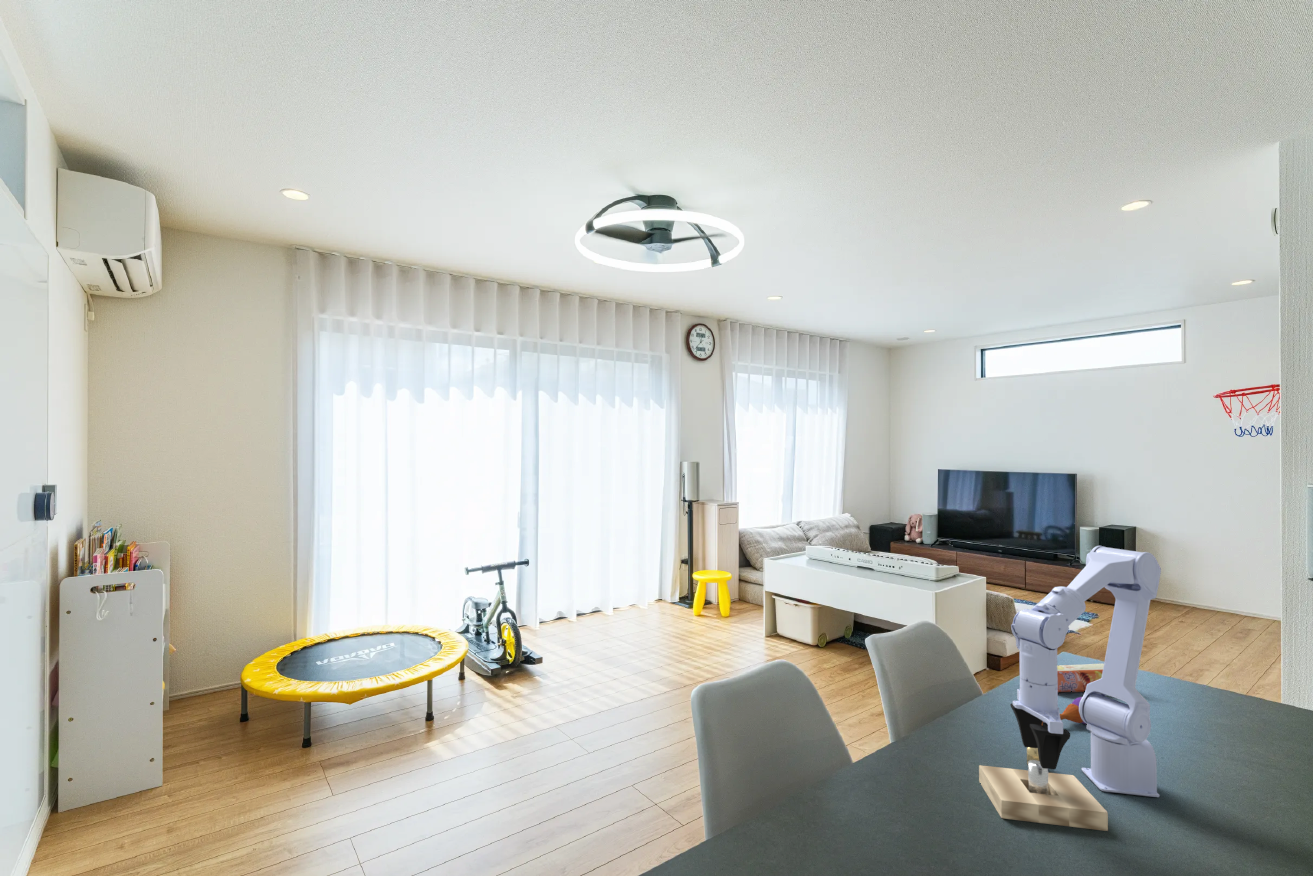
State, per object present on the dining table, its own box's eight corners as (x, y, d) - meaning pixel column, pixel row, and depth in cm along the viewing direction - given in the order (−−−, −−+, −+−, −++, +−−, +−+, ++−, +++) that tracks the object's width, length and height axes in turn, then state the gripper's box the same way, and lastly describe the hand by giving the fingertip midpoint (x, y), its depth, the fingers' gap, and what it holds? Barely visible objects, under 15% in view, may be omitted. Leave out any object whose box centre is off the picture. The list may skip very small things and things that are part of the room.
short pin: (1040, 763, 122) (1040, 742, 123) (1047, 770, 120) (1047, 749, 120) (1024, 761, 123) (1024, 741, 123) (1030, 768, 120) (1030, 748, 120)
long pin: (1044, 800, 109) (1044, 761, 109) (1051, 810, 106) (1051, 769, 106) (1025, 798, 109) (1025, 759, 110) (1032, 808, 107) (1032, 767, 107)
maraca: (1014, 707, 140) (1081, 692, 146) (1020, 735, 139) (1087, 719, 145) (1036, 713, 135) (1105, 697, 140) (1042, 742, 134) (1111, 725, 139)
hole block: (1073, 791, 112) (1073, 775, 112) (1107, 831, 100) (1107, 812, 100) (979, 781, 115) (979, 765, 115) (1001, 818, 103) (1001, 800, 103)
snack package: (1053, 695, 158) (1053, 669, 158) (1035, 686, 165) (1035, 660, 165) (1130, 694, 160) (1130, 668, 160) (1109, 685, 166) (1109, 660, 166)
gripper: (999, 664, 116) (1000, 736, 116) (1029, 693, 102) (1030, 775, 102) (1040, 667, 115) (1041, 740, 114) (1076, 697, 101) (1077, 780, 100)
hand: (1039, 757), depth 108 cm, fingers open, 7 cm apart
